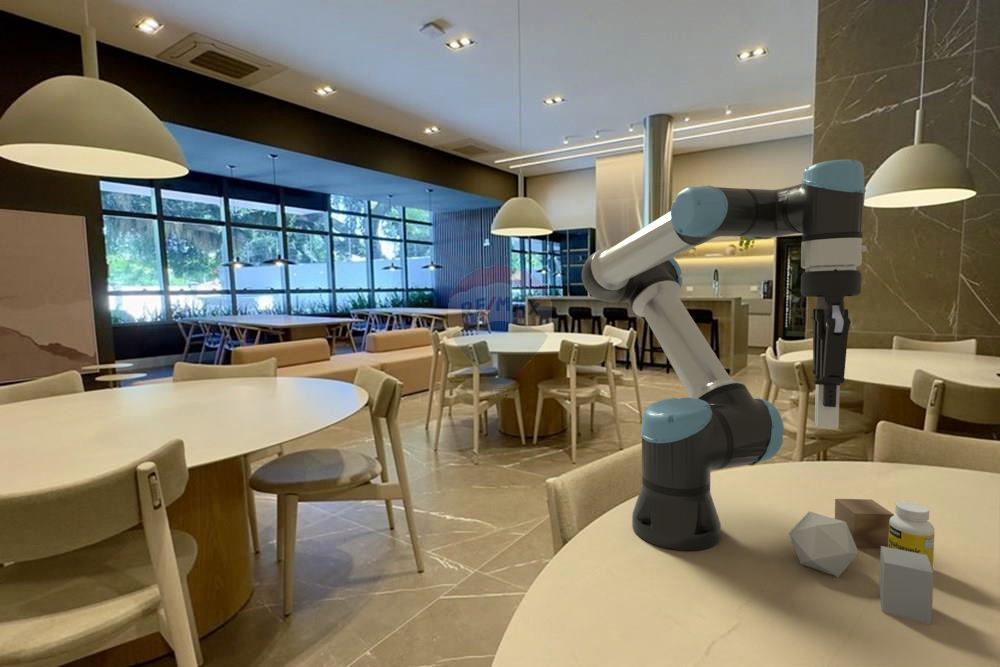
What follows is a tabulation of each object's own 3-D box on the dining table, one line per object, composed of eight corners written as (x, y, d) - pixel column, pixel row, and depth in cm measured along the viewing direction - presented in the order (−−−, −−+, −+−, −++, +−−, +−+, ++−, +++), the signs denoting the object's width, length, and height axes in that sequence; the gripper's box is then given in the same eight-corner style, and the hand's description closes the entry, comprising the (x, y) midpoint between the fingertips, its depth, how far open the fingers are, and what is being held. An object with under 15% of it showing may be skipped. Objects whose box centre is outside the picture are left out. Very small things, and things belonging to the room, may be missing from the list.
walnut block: (853, 548, 84) (854, 513, 84) (834, 531, 90) (835, 498, 90) (892, 549, 83) (894, 514, 83) (870, 532, 89) (872, 499, 89)
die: (866, 573, 78) (836, 509, 83) (871, 570, 71) (838, 501, 76) (808, 582, 81) (783, 520, 86) (808, 581, 74) (780, 513, 79)
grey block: (882, 612, 67) (884, 562, 67) (879, 593, 72) (880, 545, 71) (931, 625, 65) (933, 572, 64) (924, 604, 69) (926, 555, 68)
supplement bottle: (879, 563, 79) (881, 502, 78) (900, 555, 81) (902, 496, 80) (919, 581, 74) (922, 516, 73) (940, 572, 76) (943, 509, 76)
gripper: (875, 267, 67) (869, 440, 69) (849, 270, 80) (844, 416, 82) (809, 269, 70) (805, 435, 72) (794, 271, 83) (791, 413, 84)
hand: (826, 425), depth 77 cm, fingers closed
